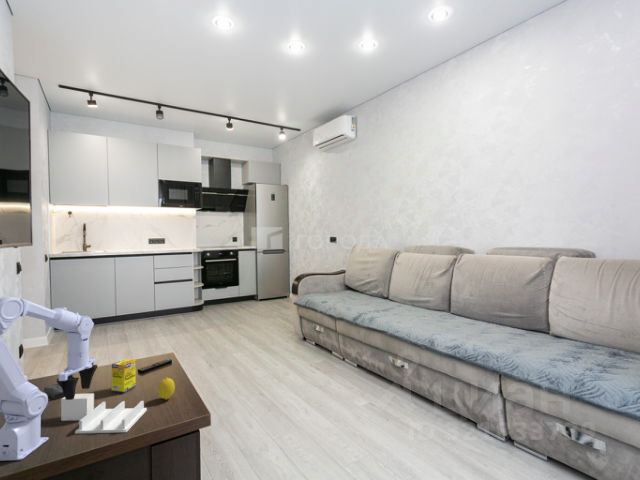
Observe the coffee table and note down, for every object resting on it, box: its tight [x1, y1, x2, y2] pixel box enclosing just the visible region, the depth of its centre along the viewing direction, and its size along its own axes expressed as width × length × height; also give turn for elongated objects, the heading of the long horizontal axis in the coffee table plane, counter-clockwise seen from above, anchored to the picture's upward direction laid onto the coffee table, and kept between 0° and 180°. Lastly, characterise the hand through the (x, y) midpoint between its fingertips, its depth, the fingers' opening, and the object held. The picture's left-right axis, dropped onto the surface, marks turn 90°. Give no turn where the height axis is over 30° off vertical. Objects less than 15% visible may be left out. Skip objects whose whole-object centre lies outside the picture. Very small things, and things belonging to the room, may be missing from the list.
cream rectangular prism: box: [60, 393, 95, 422], centre depth 108 cm, size 4×8×7 cm, turn 93°
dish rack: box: [74, 400, 148, 435], centre depth 105 cm, size 13×15×4 cm
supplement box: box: [110, 358, 137, 394], centre depth 128 cm, size 6×6×11 cm
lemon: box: [157, 377, 176, 401], centre depth 120 cm, size 6×6×8 cm
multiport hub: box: [43, 383, 65, 401], centre depth 124 cm, size 4×11×2 cm, turn 57°
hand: (78, 393), depth 108 cm, fingers open, 7 cm apart
